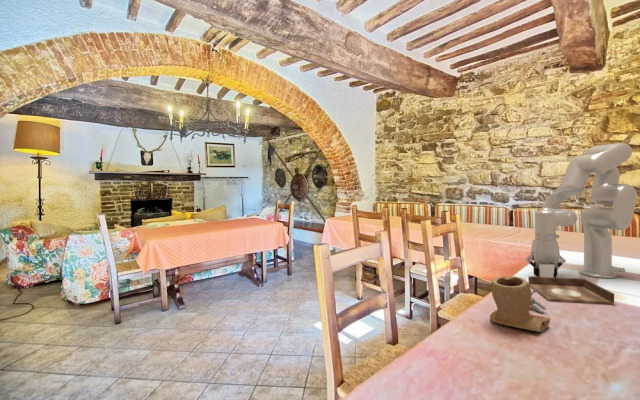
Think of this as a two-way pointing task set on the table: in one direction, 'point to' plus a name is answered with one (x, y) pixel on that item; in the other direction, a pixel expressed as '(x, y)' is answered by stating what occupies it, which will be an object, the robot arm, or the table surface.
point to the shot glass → (546, 269)
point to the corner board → (571, 290)
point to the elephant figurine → (536, 303)
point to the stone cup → (515, 304)
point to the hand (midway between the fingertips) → (545, 276)
